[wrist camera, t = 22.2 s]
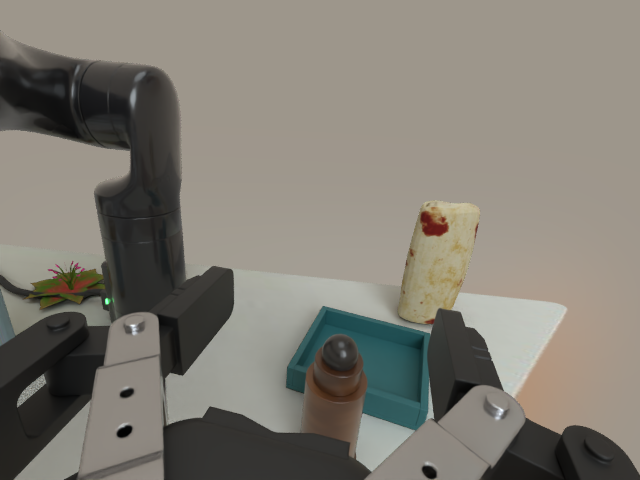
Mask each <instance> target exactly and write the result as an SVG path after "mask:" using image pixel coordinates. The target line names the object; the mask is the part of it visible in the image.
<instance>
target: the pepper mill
mask: <svg viewBox="0 0 640 480" xmlns="http://www.w3.org/2000/svg"><path fill="white" fill-rule="evenodd" d="M366 390H367V377H366V375H365V373H364V371H363V358H362V356H361V355H360V353H359V351H358V347H357V345H356V343H355V341H354V340H353V339H352V338H351V337H349V336H347V335H345V334H335V335H332V336H331V337H329V338H328V339H327V340H326V341H325V343H324V345H323V346H322V347H321V348H320V349H319V350H318V351H317V352H316V355H315V361H314V362H313V363H312V364H311V365H310V366H309V368H308V370H307V372H306V380H305V391H304V402H303V413H302V424H301V433H315V434H319V435H323V436H327V437H331V438H335V439H338V440H342V441H346V442H350V449H349V456H351V457H352V458H354V459H356V452H355V450H356V444H357V439H358V433H359V428H360V423H361V417H362V412H363V406H364V401H365V396H366Z"/></svg>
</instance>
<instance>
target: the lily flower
mask: <svg viewBox="0 0 640 480" xmlns="http://www.w3.org/2000/svg"><path fill="white" fill-rule="evenodd" d="M64 264H65V263H64ZM72 264H73V261H72V263H71V266H72ZM77 265H78V263H77V264H76V265H75V267H76V268H75V267H74V268H73V270H72V272H71V267H70V273H69V272H68V273H64V272H63V270H62V269H61V268H60V267H59V266H58V265H56V266H57V267H58V268H60V269H61V271H62V273H60V272H57V271H54V270H52V269H48V271H53V272H54V273H55V274H57V273H59V274H60V275H59V274H57V276H55V277H53V278H54V279H48V280H43V281H39V282H37V283H31V284H32V285H33V286H34V287H35V288H36V289H35V290H34V291H33V292H45V293H44V294H40V295H37V296H44V297H43V298H42V299H41V300H40V306H41V307H40V309H43V308H45V307H48V306H50V305H53V304H55V303H58V302H60V301H63V300H66V299H69V300H72V301H74V302H77V303H78V304H80V303H81V301H82V299H83V297H84V296H75V295H74V294H66V293H76V292H84V291H86V290H89V289H105V285H104V284H101V283H97V282H99V281H100V280H103V275H101V274H96V271H95V270H96V269H94V270H89V271H84V268H83V269H82V270H81V272H80V273H75V270H77V269H79V268H81V267H78V268H77ZM74 269H75V270H74ZM65 270H66V269H65ZM66 271H67V270H66ZM82 271H83V272H82ZM57 294H60V296H62V297H60V298H58V297H52V296H47V295H57ZM32 297H36V295H33V294H29V296H28V297H26V298H25V299H28V298H32ZM23 300H24V299H23ZM40 309H39V310H40Z"/></svg>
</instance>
